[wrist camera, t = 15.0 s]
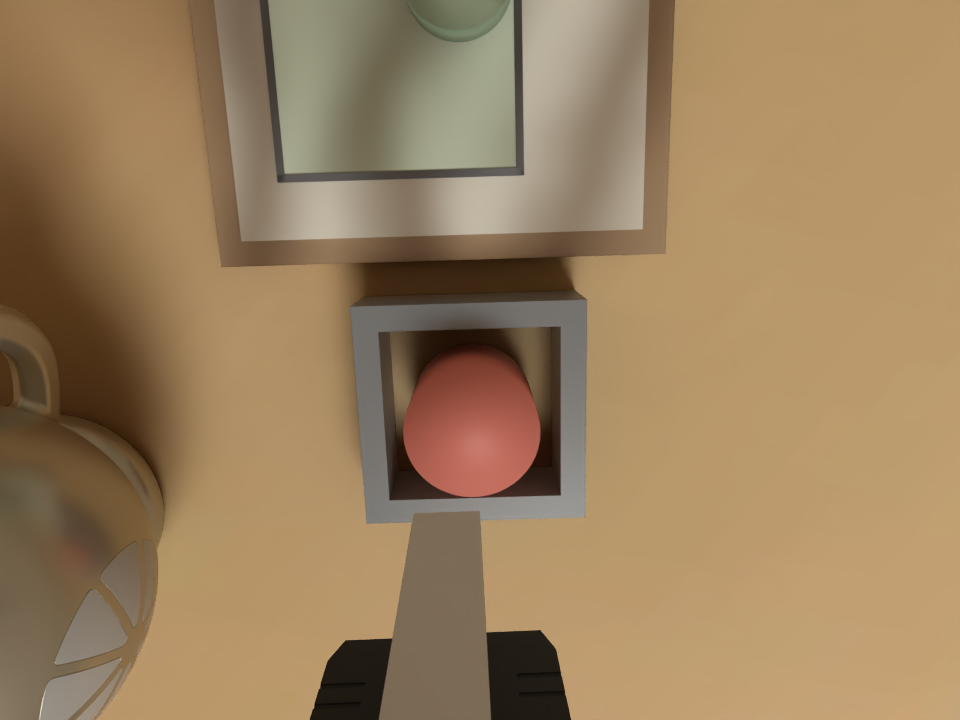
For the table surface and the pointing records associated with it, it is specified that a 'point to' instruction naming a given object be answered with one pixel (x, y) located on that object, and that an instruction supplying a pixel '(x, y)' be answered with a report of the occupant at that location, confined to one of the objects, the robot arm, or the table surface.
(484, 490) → the button
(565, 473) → the button housing
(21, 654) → the teapot
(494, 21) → the cylinder
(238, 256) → the picture board
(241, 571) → the table surface
